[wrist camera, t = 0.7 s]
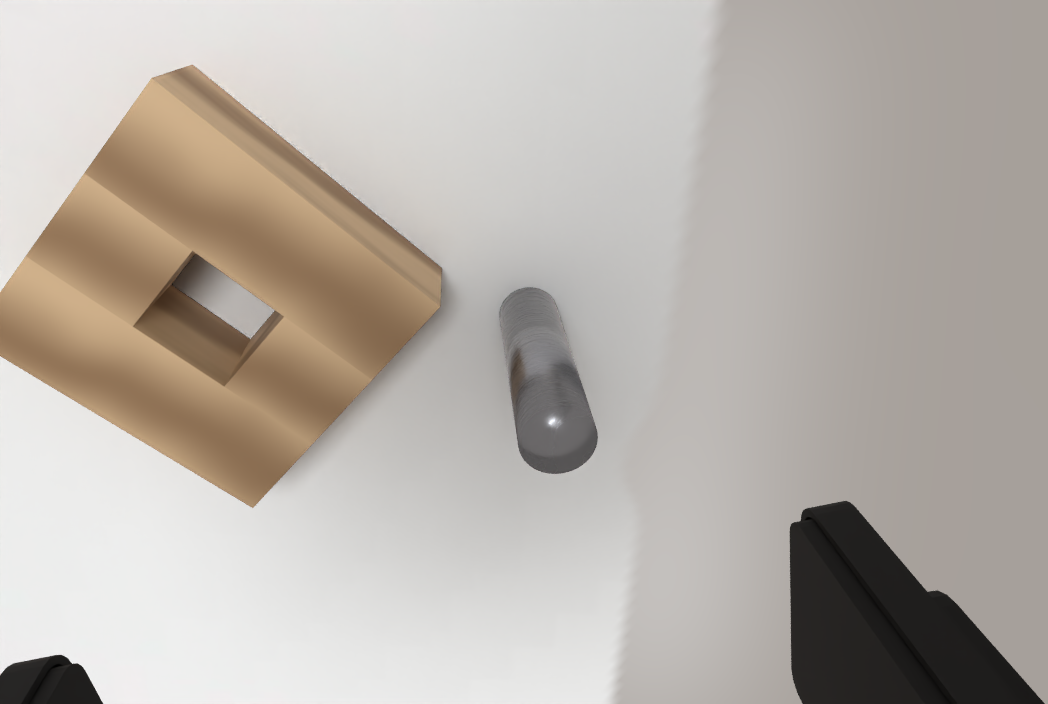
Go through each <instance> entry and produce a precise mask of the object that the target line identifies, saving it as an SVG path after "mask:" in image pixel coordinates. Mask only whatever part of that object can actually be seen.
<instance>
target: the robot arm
mask: <svg viewBox="0 0 1048 704" xmlns="http://www.w3.org/2000/svg"><path fill="white" fill-rule="evenodd" d="M790 579H791V580H790V588H791V660H792V661H791V662H792V663H791V664H792V666H791V667H792V675H793V680H794V684H795V687H796V689H797V693H798V695H799V697H800V699H801V701H802V703H803V704H1044V702H1043V701H1042V700H1041V699H1040V698H1039V697H1038V696H1037V695H1036V693H1035V692H1034V691H1033V690H1032V689H1031V688H1030V687H1029V685H1027V683H1026V682H1025V681H1024V680H1023V679H1022V678H1021V676H1020V675H1019V674H1018V673H1017V672H1016V671H1015V670H1014V669H1013V667H1012V666H1011V665H1010V664H1009V663H1008V662H1007V661H1006V659H1005V658H1004V657H1003V656H1002V655H1001V654H1000V653H999V652H998V650H997V649H996V648H995V647H994V646H993V645H992V644H991V642H990V641H989V640H988V639H987V638H986V637H985V636H984V634H983V633H982V632H981V631H980V630H979V629H978V628H977V627H976V625H975V624H974V623H973V622H972V621H971V620H970V619H969V618H968V616H967V615H966V614H965V613H964V612H963V611H962V609H961V608H960V607H959V606H958V605H957V604H956V603H955V602H954V601H953V600H952V599H951V598H950V597H948V596H947V595H946V594H944V593H942V592H940V591H930V592H927V591H926V590H925V589H924V588H923V586H922V585H921V584H920V583H919V582H918V581H917V579H916V578H915V577H914V576H913V575H912V573H911V572H910V571H909V570H908V569H907V567H906V566H905V565H904V564H903V563H902V562H901V561H900V559H899V558H898V557H897V556H896V555H895V554H894V552H893V551H892V550H891V549H890V547H889V546H888V545H887V544H886V543H885V542H884V540H883V539H882V538H881V537H880V536H879V534H878V533H877V532H876V531H875V530H874V529H873V527H872V526H871V525H870V524H869V523H868V522H867V520H866V519H865V518H864V517H863V516H862V514H861V513H860V512H859V511H858V510H857V509H856V507H855V506H854V505H852V504H851V503H850V502H847V501H843V502H838V503H832V504H827V505H823V506H817V507H812V508H807V509H805V510H803V512H802V515H801V521H800V522H794V523H792V524H791V527H790ZM0 704H103V703H102V701H101V699H100V697H99V695H98V694H97V692H96V690H95V688H94V686H93V684H92V682H91V681H90V679H89V677H88V675H87V673H86V671H85V670H84V668H83V667H82V666H81V665H79V664H72V663H71V662H70V661H69V659H68V658H66V657H65V656H63V655H54V656H49V657H44V658H39V659H34V660H29V661H24V662H19V663H14V664H12V665H10V666H8V667H7V668H6V669H5V670H4V671H3V672H2V674H1V675H0Z"/></svg>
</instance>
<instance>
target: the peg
mask: <svg viewBox="0 0 1048 704" xmlns="http://www.w3.org/2000/svg"><path fill="white" fill-rule="evenodd" d="M500 323H501V330H502V337H503V344H504V351H505V358H506V365H507V371H508V378H509V385H510V392H511V399H512V406H513V412H514V419H515V426H516V433H517V440H518V447H519V451H520V453H521V456H522V457H523V459H524V460H525V461H526V462H527V463H528V464H529V465H530V466H531V467H533V468H534V469H536V470H538V471H541V472H545V473H551V474H559V473H565V472H569V471H572V470H574V469H576V468H578V467H580V466H581V465H583V464H584V463H585V462H586V461H587V460H588V459H589V458H590V457H591V456H592V454H593V452H594V450H595V448H596V445H597V439H598V436H597V429H596V426H595V423H594V420H593V417H592V414H591V411H590V408H589V405H588V402H587V398H586V395H585V392H584V389H583V386H582V383H581V380H580V377H579V374H578V371H577V368H576V365H575V362H574V358H573V355H572V352H571V349H570V346H569V343H568V340H567V337H566V334H565V331H564V328H563V325H562V321H561V318H560V315H559V312H558V309H557V306H556V304H555V301H554V300H553V298H552V297H551V296H550V295H549V294H548V293H546V292H545V291H543V290H540V289H537V288H522V289H519V290H516V291H514V292H513V293H511V294H510V295H509V296H508V297H507V298H506V299H505V300H504V302H503V304H502V306H501V309H500Z"/></svg>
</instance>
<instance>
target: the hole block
mask: <svg viewBox="0 0 1048 704" xmlns="http://www.w3.org/2000/svg"><path fill="white" fill-rule="evenodd" d="M195 254H198V255H199V256H200V257H202V258H203V259H204V260H206V261H207V262H209V263H210V264H211V265H213V266H214V267H216V268H217V269H218V270H220V271H221V272H223V273H224V274H225V275H227V276H228V277H230V278H231V279H232V280H234V281H235V282H237V283H238V284H239V285H241V286H242V287H243V288H245V289H246V290H248V291H249V292H250V293H252V294H253V295H255V296H256V297H257V298H259V299H260V300H262V301H263V302H264V303H266V304H267V305H269V306H270V307H271V308H273V309H274V310H275V311H274V312H273V314H272V315H271V316H270V317H269V318H268V319H267V321H266V322H265V323H264V324H263V325H262V327H261V328H260V329H259V330H258V331H257V332H256V334H255V335H254V336H253V337H252V338H251V339H249V338H248V337H246V336H245V335H243V334H242V333H240V332H239V331H237V330H236V329H235V328H233V327H232V326H230V325H229V324H227V323H226V322H224V321H223V320H222V319H220V318H219V317H217V316H216V315H214V314H213V313H211V312H210V311H209V310H207V309H206V308H204V307H203V306H201V305H200V304H198V303H197V302H196V301H194V300H193V299H191V298H190V297H188V296H187V295H185V294H184V293H183V292H181V291H180V290H178V289H177V288H175V287H174V286H172V285H171V284H172V283H173V281H174V280H175V279H176V278H177V276H178V275H179V274H180V273H181V271H182V270H183V269H184V268H185V266H186V265H187V264H188V262H189V261H190V260H191V259H192V257H193V256H194V255H195ZM441 272H442V268H441V267H440V266H439V265H437V264H436V263H435V262H434V261H432V260H431V259H430V258H429V257H428V256H426V255H425V254H424V253H423V252H421V251H420V250H419V249H418V248H416V247H415V246H414V245H413V244H412V243H410V242H409V241H408V240H407V239H405V238H404V237H403V236H402V235H401V234H399V233H398V232H397V231H396V230H394V229H393V228H392V227H391V226H390V225H388V224H387V223H386V222H385V221H383V220H382V219H381V218H380V217H378V216H377V215H376V214H375V213H374V212H372V211H371V210H370V209H369V208H367V207H366V206H365V205H364V204H363V203H361V202H360V201H359V200H358V199H356V198H355V197H354V196H353V195H352V194H350V193H349V192H348V191H347V190H345V189H344V188H343V187H342V186H340V185H339V184H338V183H337V182H336V181H334V180H333V179H332V178H331V177H329V176H328V175H327V174H326V173H325V172H323V171H322V170H321V169H320V168H318V167H317V166H316V165H315V164H314V163H312V162H311V161H310V160H309V159H307V158H306V157H305V156H304V155H302V154H301V153H300V152H299V151H298V150H296V149H295V148H294V147H293V146H291V145H290V144H289V143H288V142H287V141H285V140H284V139H283V138H282V137H280V136H279V135H278V134H277V133H275V132H274V131H273V130H272V129H271V128H269V127H268V126H267V125H266V124H264V123H263V122H262V121H261V120H260V119H258V118H257V117H256V116H255V115H253V114H252V113H251V112H250V111H249V110H247V109H246V108H245V107H244V106H242V105H241V104H240V103H239V102H237V101H236V100H235V99H234V98H233V97H231V96H230V95H229V94H228V93H226V92H225V91H224V90H223V89H222V88H220V87H219V86H218V85H217V84H215V83H214V82H213V81H212V80H211V79H209V78H208V77H207V76H206V75H204V74H203V73H202V72H201V71H199V70H198V69H197V68H196V67H195V66H193V65H190V66H187V67H184V68H181V69H178V70H175V71H172V72H169V73H166V74H163V75H160V76H157V77H154V78H151V80H150V81H149V83H148V84H147V85H146V87H145V88H144V90H143V91H142V92H141V94H140V95H139V97H138V98H137V100H136V101H135V102H134V104H133V105H132V107H131V108H130V109H129V111H128V112H127V114H126V115H125V117H124V118H123V119H122V121H121V122H120V124H119V125H118V126H117V128H116V129H115V131H114V132H113V134H112V135H111V136H110V138H109V139H108V141H107V142H106V143H105V145H104V146H103V148H102V149H101V151H100V152H99V153H98V155H97V156H96V158H95V159H94V160H93V162H92V163H91V165H90V166H89V168H88V169H87V170H86V172H85V173H84V175H83V176H82V177H81V179H80V180H79V182H78V183H77V184H76V186H75V187H74V189H73V190H72V192H71V193H70V194H69V196H68V197H67V199H66V200H65V201H64V203H63V204H62V206H61V207H60V209H59V210H58V211H57V213H56V214H55V216H54V217H53V218H52V220H51V221H50V223H49V224H48V226H47V227H46V228H45V230H44V231H43V233H42V234H41V235H40V237H39V238H38V240H37V241H36V243H35V244H34V245H33V247H32V248H31V250H30V251H29V252H28V254H27V255H26V257H25V258H24V259H23V261H22V262H21V264H20V265H19V267H18V268H17V269H16V271H15V272H14V274H13V275H12V276H11V278H10V279H9V281H8V282H7V284H6V285H5V286H4V288H3V289H2V291H1V292H0V356H1V357H3V358H4V359H6V360H8V361H9V362H11V363H13V364H14V365H16V366H18V367H19V368H21V369H23V370H24V371H26V372H28V373H29V374H31V375H33V376H34V377H36V378H38V379H39V380H41V381H42V382H44V383H46V384H47V385H49V386H51V387H52V388H54V389H56V390H57V391H59V392H61V393H62V394H64V395H66V396H67V397H69V398H71V399H72V400H74V401H76V402H77V403H79V404H81V405H82V406H84V407H86V408H87V409H89V410H91V411H92V412H94V413H96V414H97V415H99V416H101V417H102V418H104V419H106V420H107V421H109V422H111V423H112V424H114V425H116V426H117V427H119V428H121V429H122V430H124V431H126V432H127V433H129V434H131V435H132V436H134V437H136V438H137V439H139V440H141V441H142V442H144V443H146V444H147V445H149V446H151V447H152V448H154V449H156V450H157V451H159V452H161V453H162V454H164V455H166V456H167V457H169V458H170V459H172V460H174V461H175V462H177V463H179V464H180V465H182V466H184V467H185V468H187V469H189V470H190V471H192V472H194V473H195V474H197V475H199V476H200V477H202V478H204V479H205V480H207V481H209V482H210V483H212V484H214V485H215V486H217V487H219V488H220V489H222V490H224V491H225V492H227V493H229V494H230V495H232V496H234V497H235V498H237V499H239V500H240V501H242V502H244V503H245V504H247V505H249V506H250V507H252V508H253V507H254V506H255V505H256V504H257V503H258V502H259V501H260V500H261V499H262V498H263V497H264V495H265V494H266V493H267V492H268V491H269V490H270V489H271V488H272V487H273V486H274V485H275V484H276V483H277V482H278V480H279V479H280V478H281V477H282V476H283V475H284V474H285V473H286V472H287V471H288V470H289V469H290V468H291V467H292V465H293V464H294V463H295V462H296V461H297V460H298V459H299V458H300V457H301V456H302V455H303V454H304V453H305V451H306V450H307V449H308V448H309V447H310V446H311V445H312V444H313V443H314V442H315V441H316V440H317V439H318V438H319V436H320V435H321V434H322V433H323V432H324V431H325V430H326V429H327V428H328V427H329V426H330V425H331V424H332V423H333V421H334V420H335V419H336V418H337V417H338V416H339V415H340V414H341V413H342V412H343V411H344V410H345V409H346V407H347V406H348V405H349V404H350V403H351V402H352V401H353V400H354V399H355V398H356V397H357V396H358V395H359V394H360V392H361V391H362V390H363V389H364V388H365V387H366V386H367V385H368V384H369V383H370V382H371V381H372V380H373V379H374V377H375V376H376V375H377V374H378V373H379V372H380V371H381V370H382V369H383V368H384V367H385V366H386V365H387V363H388V362H389V361H390V360H391V359H392V358H393V357H394V356H395V355H396V354H397V353H398V352H399V351H400V350H401V348H402V347H403V346H404V345H405V344H406V343H407V342H408V341H409V340H410V339H411V338H412V337H413V336H414V335H415V333H416V332H417V331H418V330H419V329H420V328H421V327H422V326H423V325H424V324H425V323H426V322H427V321H428V319H429V318H430V317H431V316H432V315H433V314H434V313H435V312H436V311H437V310H438V309H439V308H440V304H441Z"/></svg>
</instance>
